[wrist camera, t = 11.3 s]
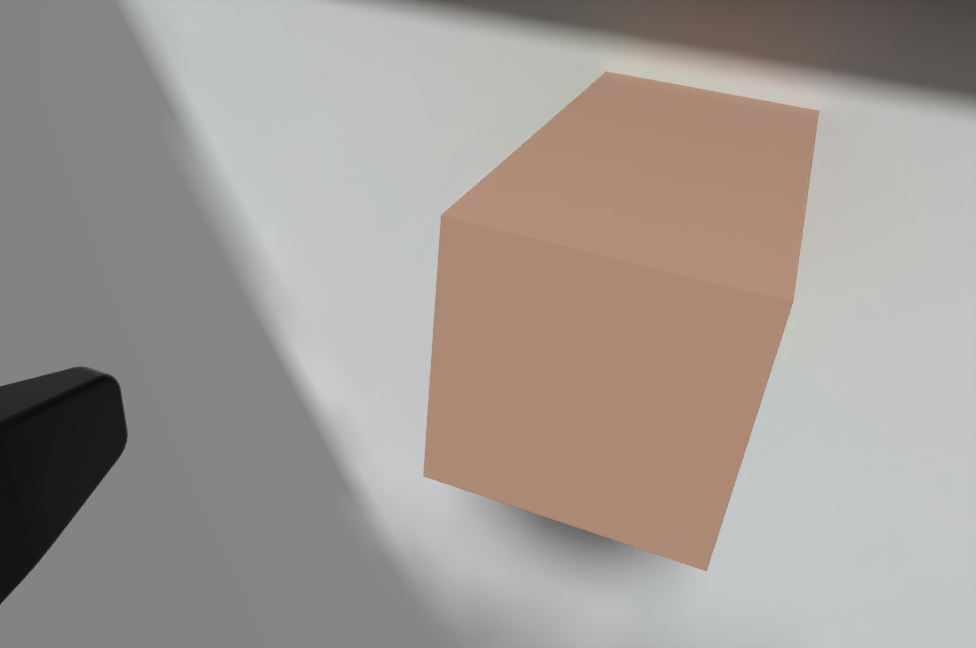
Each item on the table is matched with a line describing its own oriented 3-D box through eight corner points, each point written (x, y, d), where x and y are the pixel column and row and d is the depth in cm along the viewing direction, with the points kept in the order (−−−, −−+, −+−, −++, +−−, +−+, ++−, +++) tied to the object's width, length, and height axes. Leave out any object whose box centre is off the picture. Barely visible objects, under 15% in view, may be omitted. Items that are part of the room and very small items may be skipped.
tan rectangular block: (819, 111, 15) (792, 300, 9) (761, 301, 17) (706, 570, 11) (606, 71, 16) (441, 214, 10) (576, 255, 18) (423, 475, 12)
